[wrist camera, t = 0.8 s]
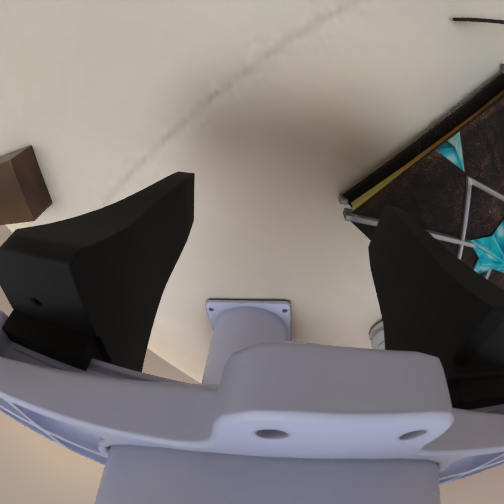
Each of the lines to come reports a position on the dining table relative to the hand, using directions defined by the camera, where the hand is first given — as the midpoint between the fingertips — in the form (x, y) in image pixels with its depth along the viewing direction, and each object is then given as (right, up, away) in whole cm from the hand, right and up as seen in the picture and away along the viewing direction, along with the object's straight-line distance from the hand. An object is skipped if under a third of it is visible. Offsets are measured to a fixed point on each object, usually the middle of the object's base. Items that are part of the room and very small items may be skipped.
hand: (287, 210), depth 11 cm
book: (+18, +1, +10) cm, 20 cm away
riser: (-23, +5, +12) cm, 26 cm away
